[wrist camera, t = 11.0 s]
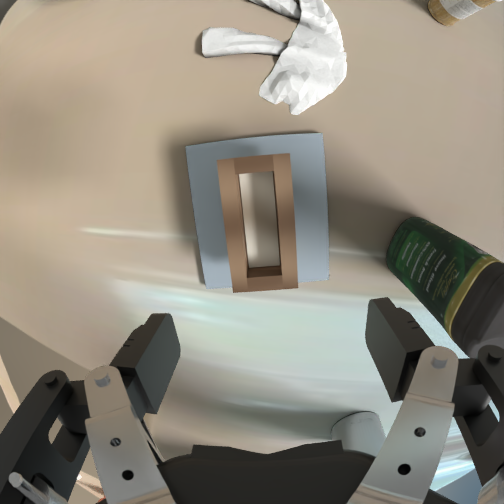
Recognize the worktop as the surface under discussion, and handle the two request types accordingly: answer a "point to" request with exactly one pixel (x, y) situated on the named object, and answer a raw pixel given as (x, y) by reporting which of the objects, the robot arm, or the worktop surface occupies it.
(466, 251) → the coffee jar
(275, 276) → the frame
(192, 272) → the worktop surface
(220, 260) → the panel
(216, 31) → the cloth
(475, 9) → the sprinkles bottle
